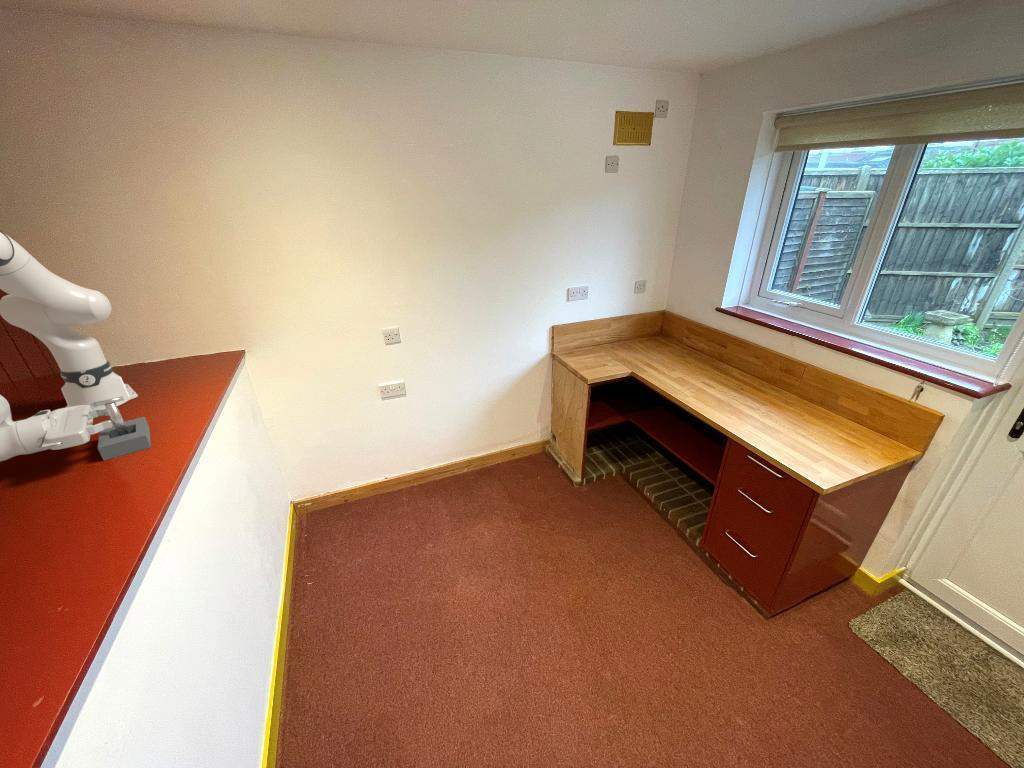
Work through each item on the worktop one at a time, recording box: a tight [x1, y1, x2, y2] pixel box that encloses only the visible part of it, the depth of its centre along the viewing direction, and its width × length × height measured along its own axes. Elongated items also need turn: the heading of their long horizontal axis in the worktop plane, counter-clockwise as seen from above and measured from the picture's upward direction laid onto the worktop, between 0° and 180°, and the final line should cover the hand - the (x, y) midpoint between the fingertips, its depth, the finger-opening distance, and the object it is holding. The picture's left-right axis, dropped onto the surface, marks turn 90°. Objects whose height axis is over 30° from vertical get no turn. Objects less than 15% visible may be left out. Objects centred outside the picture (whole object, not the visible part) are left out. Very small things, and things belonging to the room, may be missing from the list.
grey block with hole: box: [97, 416, 152, 461], centre depth 119 cm, size 14×10×4 cm
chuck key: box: [91, 396, 129, 436], centre depth 117 cm, size 4×7×14 cm
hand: (112, 416), depth 116 cm, fingers open, 8 cm apart
